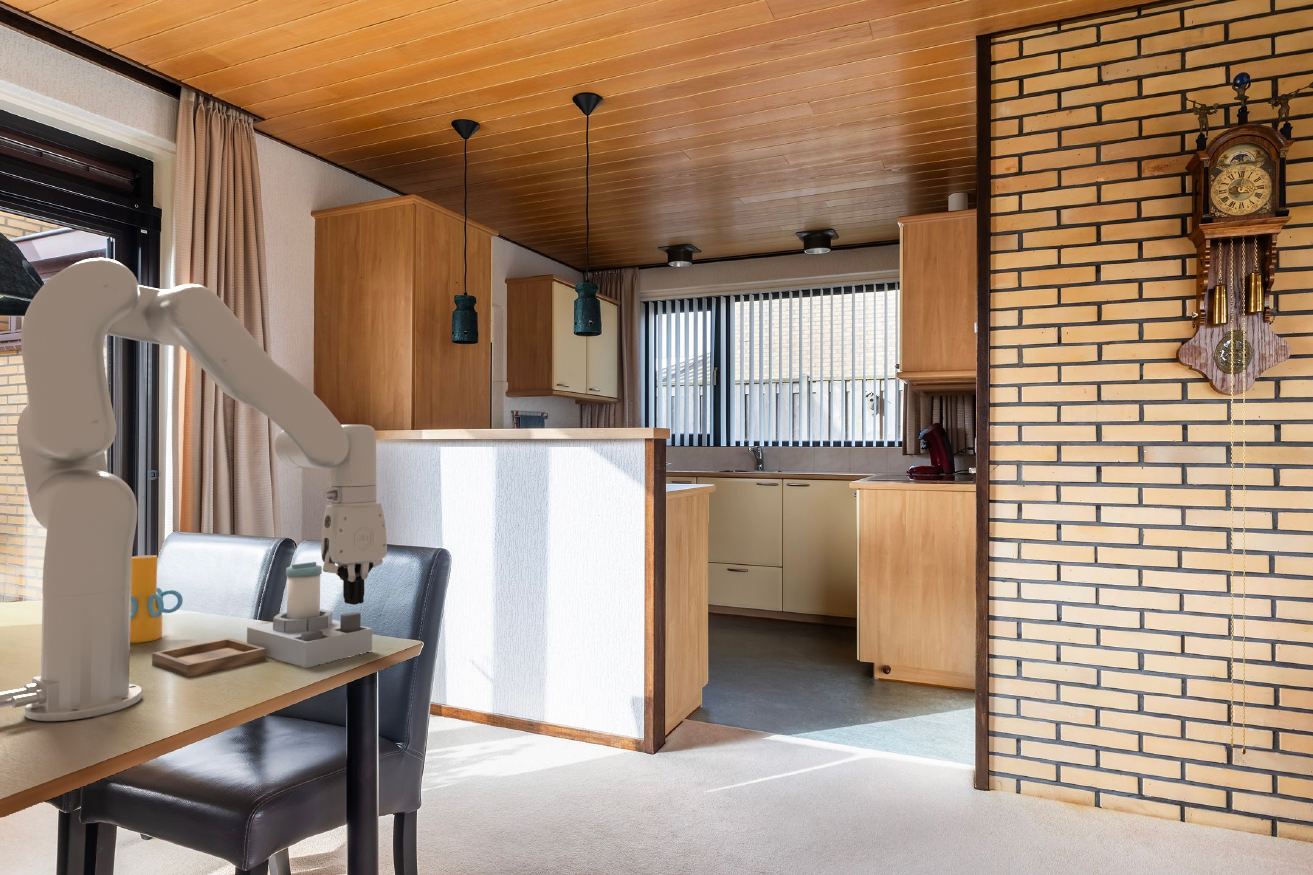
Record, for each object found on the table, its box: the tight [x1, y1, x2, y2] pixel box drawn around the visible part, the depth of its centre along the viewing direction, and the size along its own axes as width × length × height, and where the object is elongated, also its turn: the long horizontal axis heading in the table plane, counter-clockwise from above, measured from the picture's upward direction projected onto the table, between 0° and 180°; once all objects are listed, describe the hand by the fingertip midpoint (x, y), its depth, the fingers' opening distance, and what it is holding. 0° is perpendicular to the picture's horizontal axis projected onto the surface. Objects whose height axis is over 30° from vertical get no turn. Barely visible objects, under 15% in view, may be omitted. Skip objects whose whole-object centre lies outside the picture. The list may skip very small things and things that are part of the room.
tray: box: [151, 637, 267, 677], centre depth 123 cm, size 12×12×2 cm
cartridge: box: [285, 561, 323, 619], centre depth 131 cm, size 6×6×11 cm
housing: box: [246, 608, 373, 669], centre depth 129 cm, size 12×18×6 cm, turn 56°
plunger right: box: [339, 612, 362, 633], centre depth 129 cm, size 3×3×4 cm
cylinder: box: [130, 554, 184, 644], centre depth 137 cm, size 12×10×15 cm
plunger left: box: [301, 631, 323, 642], centre depth 123 cm, size 3×3×4 cm
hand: (354, 602), depth 129 cm, fingers closed
